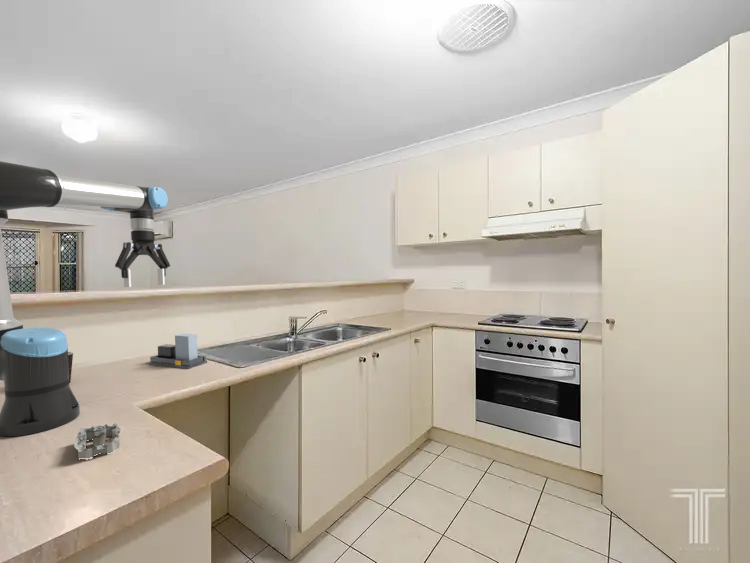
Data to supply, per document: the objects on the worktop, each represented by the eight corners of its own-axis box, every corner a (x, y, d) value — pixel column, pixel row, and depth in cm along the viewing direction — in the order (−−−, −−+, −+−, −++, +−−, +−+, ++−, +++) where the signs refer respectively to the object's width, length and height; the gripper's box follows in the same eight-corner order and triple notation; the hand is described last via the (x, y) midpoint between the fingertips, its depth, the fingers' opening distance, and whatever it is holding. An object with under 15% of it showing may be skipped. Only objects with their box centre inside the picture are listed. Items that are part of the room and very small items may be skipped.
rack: (188, 368, 132) (187, 350, 132) (148, 364, 140) (148, 347, 139) (207, 362, 141) (206, 345, 140) (168, 358, 148) (168, 342, 148)
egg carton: (120, 453, 73) (119, 434, 73) (73, 466, 69) (72, 446, 68) (121, 433, 82) (120, 416, 81) (79, 443, 77) (78, 425, 77)
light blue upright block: (189, 364, 135) (188, 336, 135) (176, 363, 138) (174, 335, 137) (197, 361, 139) (196, 334, 139) (184, 360, 142) (183, 333, 141)
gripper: (165, 233, 146) (167, 283, 147) (101, 228, 123) (104, 287, 124) (178, 232, 144) (180, 284, 145) (115, 227, 120) (118, 288, 121)
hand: (145, 285), depth 134 cm, fingers open, 13 cm apart
